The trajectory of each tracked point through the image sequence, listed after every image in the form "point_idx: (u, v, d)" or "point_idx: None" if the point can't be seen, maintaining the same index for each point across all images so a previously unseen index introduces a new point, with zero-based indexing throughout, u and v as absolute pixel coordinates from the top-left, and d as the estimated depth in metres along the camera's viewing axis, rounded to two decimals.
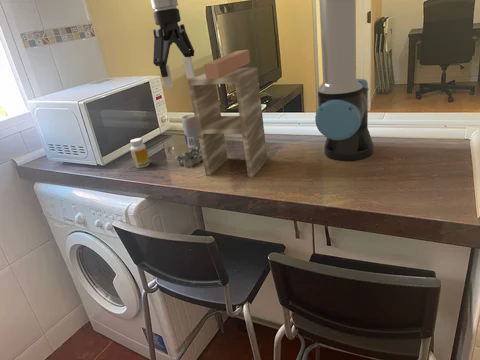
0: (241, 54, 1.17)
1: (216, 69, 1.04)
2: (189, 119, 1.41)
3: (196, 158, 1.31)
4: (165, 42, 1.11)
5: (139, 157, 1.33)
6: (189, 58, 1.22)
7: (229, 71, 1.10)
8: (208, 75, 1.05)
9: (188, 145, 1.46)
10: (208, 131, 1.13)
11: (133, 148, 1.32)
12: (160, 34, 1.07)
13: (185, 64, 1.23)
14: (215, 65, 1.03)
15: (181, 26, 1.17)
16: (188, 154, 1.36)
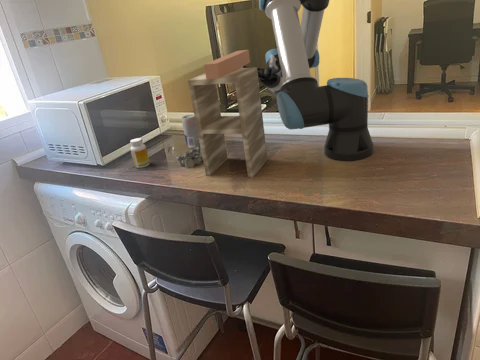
0: (241, 54, 1.17)
1: (216, 69, 1.04)
2: (189, 119, 1.41)
3: (197, 158, 1.31)
4: None
5: (139, 157, 1.33)
6: None
7: (229, 71, 1.10)
8: (208, 75, 1.05)
9: (188, 145, 1.46)
10: (208, 131, 1.13)
11: (133, 148, 1.32)
12: None
13: None
14: (215, 65, 1.03)
15: None
16: (189, 154, 1.35)
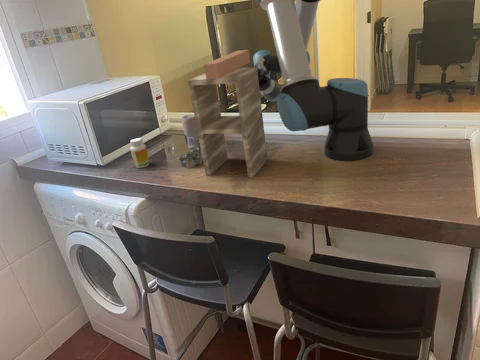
0: (241, 54, 1.17)
1: (216, 69, 1.04)
2: (189, 119, 1.41)
3: (199, 158, 1.30)
4: None
5: (139, 157, 1.33)
6: None
7: (229, 71, 1.10)
8: (208, 75, 1.05)
9: (188, 145, 1.46)
10: (208, 131, 1.13)
11: (133, 148, 1.32)
12: None
13: None
14: (215, 65, 1.03)
15: None
16: (190, 155, 1.35)
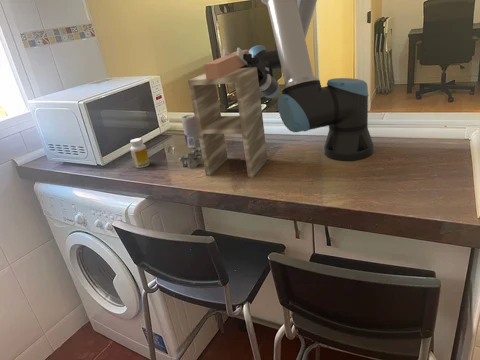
0: None
1: (216, 69, 1.04)
2: (189, 119, 1.41)
3: (200, 159, 1.30)
4: None
5: (139, 157, 1.33)
6: None
7: (229, 71, 1.10)
8: (208, 75, 1.05)
9: (188, 145, 1.46)
10: (208, 131, 1.13)
11: (133, 148, 1.32)
12: None
13: None
14: (215, 65, 1.03)
15: None
16: (191, 155, 1.34)
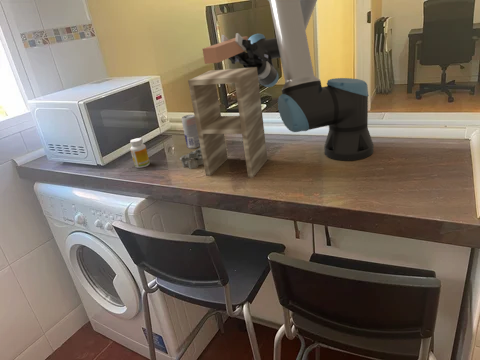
0: None
1: (215, 53, 1.03)
2: (189, 119, 1.41)
3: (201, 159, 1.29)
4: None
5: (139, 157, 1.33)
6: None
7: (228, 56, 1.09)
8: (207, 60, 1.04)
9: (188, 145, 1.46)
10: (208, 131, 1.13)
11: (133, 148, 1.32)
12: None
13: None
14: (214, 49, 1.02)
15: None
16: (192, 155, 1.34)
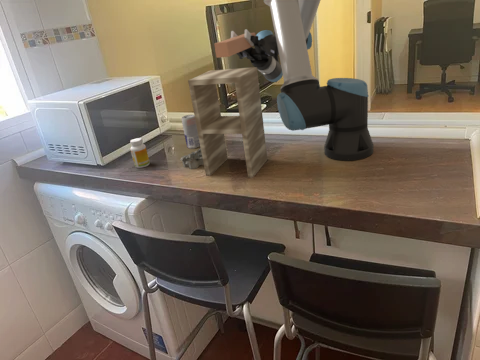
0: None
1: (226, 48, 1.10)
2: (189, 119, 1.41)
3: (202, 160, 1.29)
4: None
5: (139, 157, 1.33)
6: None
7: (237, 51, 1.16)
8: (218, 54, 1.11)
9: (188, 145, 1.46)
10: (208, 131, 1.13)
11: (133, 148, 1.32)
12: None
13: None
14: (225, 44, 1.09)
15: None
16: (194, 155, 1.34)
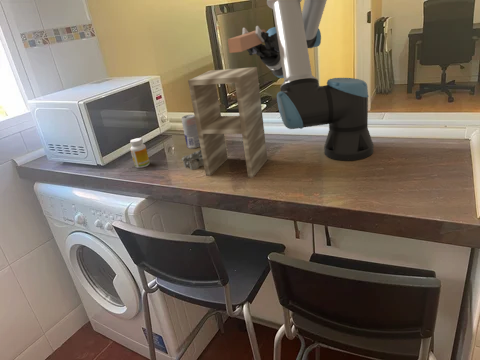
0: None
1: (239, 43, 1.14)
2: (189, 119, 1.41)
3: (202, 160, 1.28)
4: None
5: (139, 157, 1.33)
6: None
7: (249, 46, 1.21)
8: (232, 49, 1.16)
9: (188, 145, 1.46)
10: (208, 131, 1.13)
11: (133, 148, 1.32)
12: None
13: None
14: (238, 39, 1.14)
15: None
16: (195, 156, 1.33)
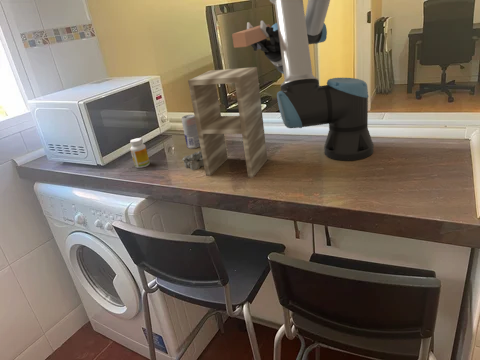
0: None
1: (243, 38, 1.12)
2: (189, 119, 1.41)
3: None
4: None
5: (139, 157, 1.33)
6: None
7: (254, 41, 1.19)
8: (236, 44, 1.14)
9: (188, 145, 1.46)
10: (208, 131, 1.13)
11: (133, 148, 1.32)
12: None
13: None
14: (243, 34, 1.12)
15: None
16: (196, 156, 1.33)
